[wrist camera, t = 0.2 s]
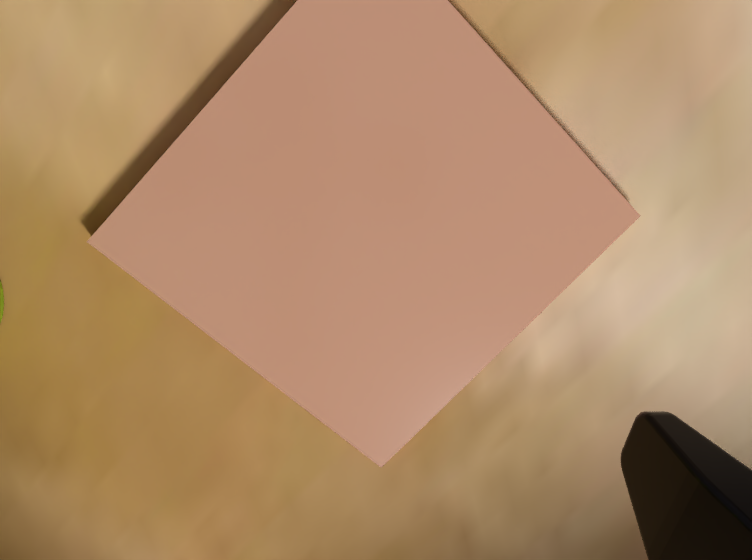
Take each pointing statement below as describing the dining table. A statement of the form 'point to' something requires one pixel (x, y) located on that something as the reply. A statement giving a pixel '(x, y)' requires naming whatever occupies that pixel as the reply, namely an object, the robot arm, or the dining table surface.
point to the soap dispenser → (1, 301)
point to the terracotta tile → (367, 214)
